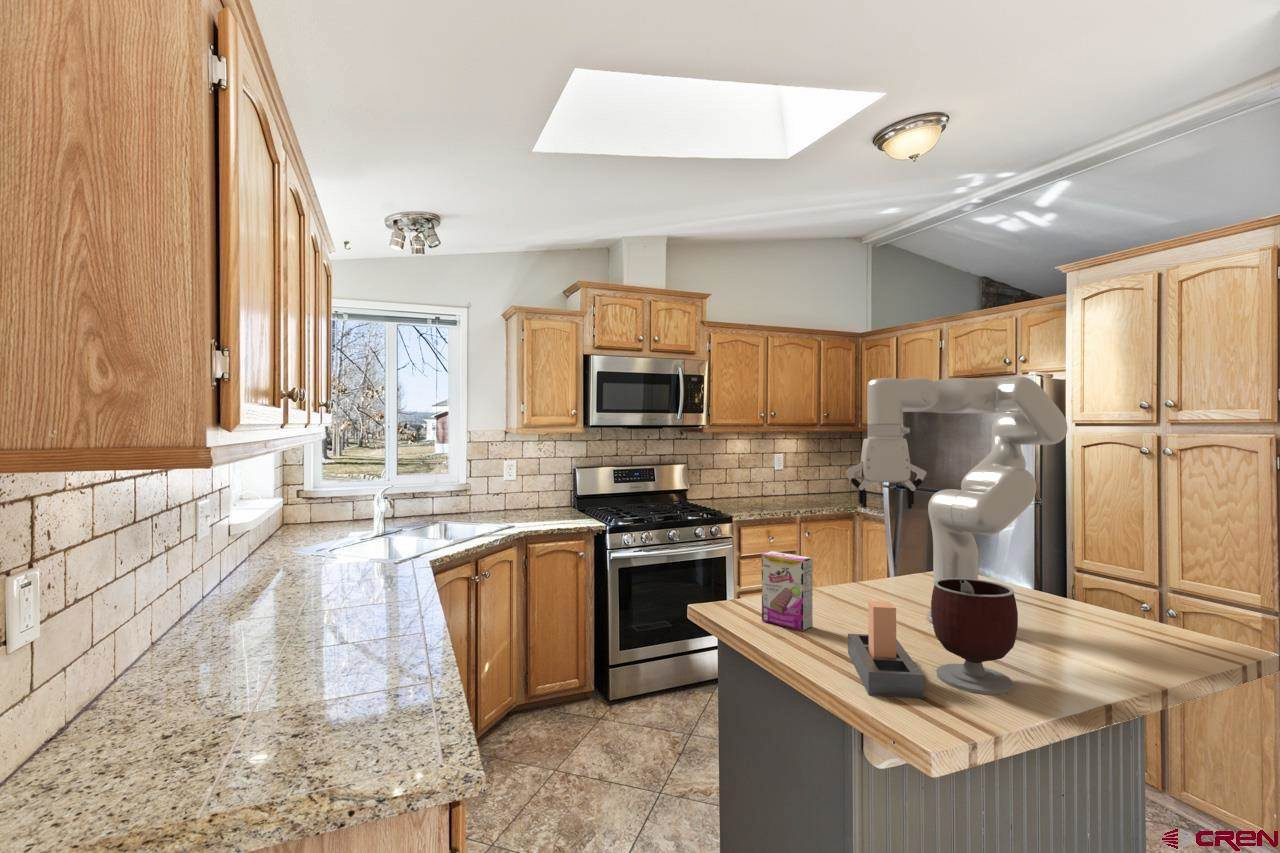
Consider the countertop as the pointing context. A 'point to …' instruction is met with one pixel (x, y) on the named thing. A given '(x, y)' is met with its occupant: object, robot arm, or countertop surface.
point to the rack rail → (885, 670)
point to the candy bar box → (787, 590)
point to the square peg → (882, 629)
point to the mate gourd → (974, 631)
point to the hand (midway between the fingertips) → (885, 507)
